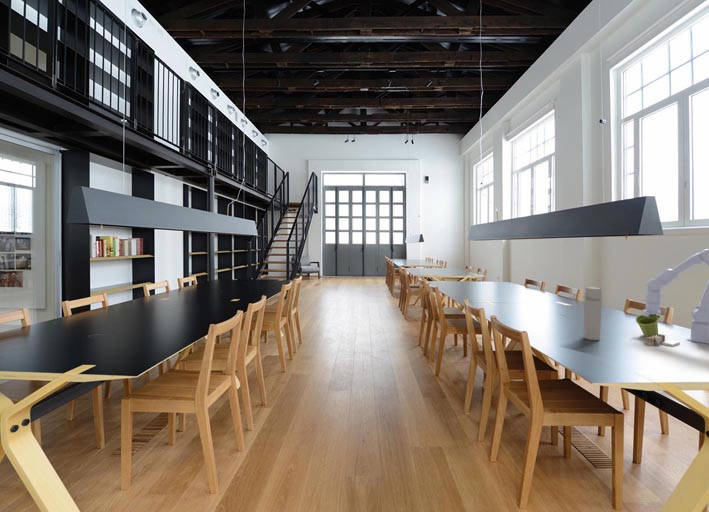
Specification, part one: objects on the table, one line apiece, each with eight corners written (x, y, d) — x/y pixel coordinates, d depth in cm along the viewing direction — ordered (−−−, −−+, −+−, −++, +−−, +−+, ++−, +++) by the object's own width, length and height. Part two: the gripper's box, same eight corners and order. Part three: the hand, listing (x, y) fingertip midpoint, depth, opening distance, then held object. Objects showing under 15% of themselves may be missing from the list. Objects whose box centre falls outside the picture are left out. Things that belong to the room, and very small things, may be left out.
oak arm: (659, 341, 187) (659, 333, 186) (666, 342, 184) (666, 335, 184) (644, 343, 182) (644, 336, 182) (651, 345, 179) (651, 337, 179)
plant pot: (635, 336, 199) (631, 322, 196) (644, 326, 203) (640, 312, 200) (657, 340, 190) (653, 325, 188) (665, 330, 194) (661, 315, 192)
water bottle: (603, 341, 186) (605, 289, 185) (585, 340, 188) (587, 288, 186) (595, 336, 195) (597, 286, 194) (578, 335, 197) (580, 286, 195)
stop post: (660, 345, 180) (660, 337, 179) (658, 345, 179) (658, 338, 179) (655, 344, 181) (656, 336, 181) (654, 344, 180) (654, 337, 180)
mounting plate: (679, 344, 182) (679, 341, 182) (672, 346, 177) (672, 344, 177) (668, 341, 185) (668, 339, 185) (661, 344, 181) (661, 342, 181)
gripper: (650, 300, 205) (648, 325, 206) (637, 302, 197) (635, 328, 198) (666, 302, 199) (664, 328, 200) (653, 304, 191) (651, 332, 192)
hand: (650, 329), depth 198 cm, fingers closed, pressing on plant pot
